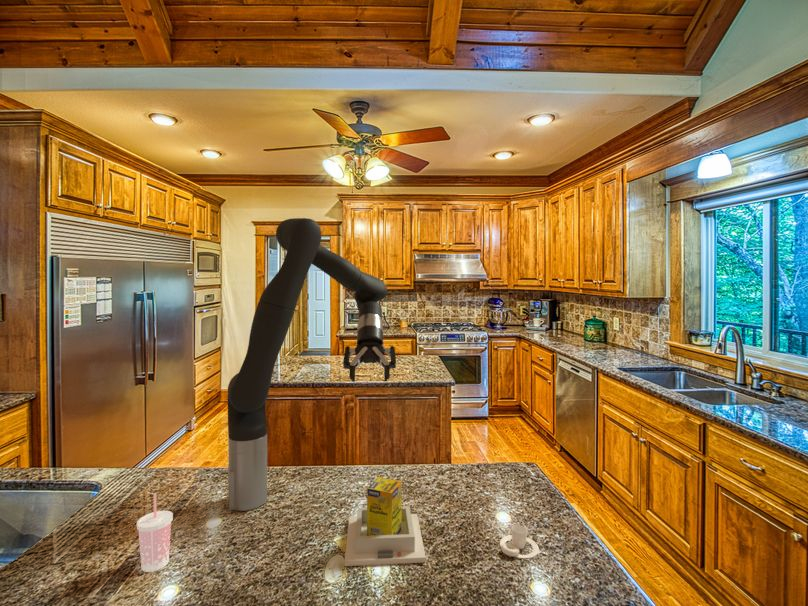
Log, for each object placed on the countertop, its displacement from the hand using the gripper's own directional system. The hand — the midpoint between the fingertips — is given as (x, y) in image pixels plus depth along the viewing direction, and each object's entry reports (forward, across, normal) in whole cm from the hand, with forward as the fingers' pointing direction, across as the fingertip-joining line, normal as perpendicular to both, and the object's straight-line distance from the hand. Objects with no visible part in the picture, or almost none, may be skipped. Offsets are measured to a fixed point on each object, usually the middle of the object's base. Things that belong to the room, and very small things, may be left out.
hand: (369, 380), depth 106 cm
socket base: (+36, +3, +8) cm, 37 cm away
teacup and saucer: (+38, +29, +6) cm, 48 cm away
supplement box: (+35, +4, +7) cm, 36 cm away
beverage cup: (+39, -42, +4) cm, 57 cm away
